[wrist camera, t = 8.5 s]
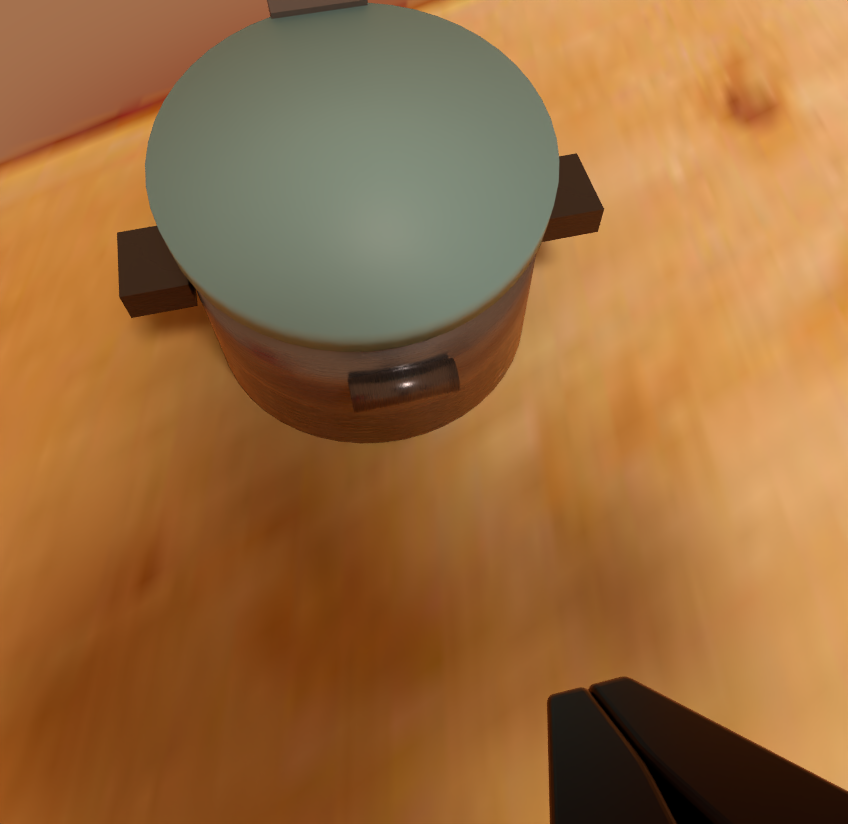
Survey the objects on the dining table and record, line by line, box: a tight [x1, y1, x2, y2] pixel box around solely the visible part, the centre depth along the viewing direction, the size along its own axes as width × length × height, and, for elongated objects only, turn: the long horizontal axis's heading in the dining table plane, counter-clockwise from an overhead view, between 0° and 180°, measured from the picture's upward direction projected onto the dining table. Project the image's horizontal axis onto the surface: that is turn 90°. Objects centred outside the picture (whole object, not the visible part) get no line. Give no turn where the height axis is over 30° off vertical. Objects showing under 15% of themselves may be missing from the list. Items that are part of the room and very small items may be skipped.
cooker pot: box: [117, 154, 604, 443], centre depth 24 cm, size 12×15×5 cm
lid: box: [145, 0, 559, 352], centre depth 22 cm, size 15×12×1 cm
